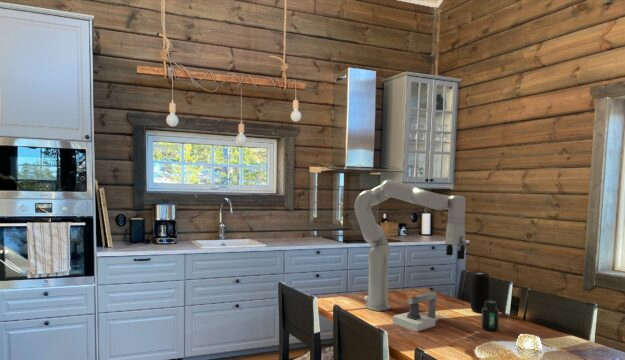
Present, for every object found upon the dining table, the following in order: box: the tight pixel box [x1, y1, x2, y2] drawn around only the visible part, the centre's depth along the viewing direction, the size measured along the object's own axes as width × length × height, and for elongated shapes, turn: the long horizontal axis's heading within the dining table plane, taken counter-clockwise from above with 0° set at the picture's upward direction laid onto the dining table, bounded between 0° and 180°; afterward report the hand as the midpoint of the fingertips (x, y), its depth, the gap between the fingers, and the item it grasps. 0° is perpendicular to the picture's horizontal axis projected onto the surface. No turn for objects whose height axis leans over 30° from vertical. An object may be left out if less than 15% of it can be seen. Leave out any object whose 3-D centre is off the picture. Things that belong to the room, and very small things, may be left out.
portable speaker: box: [469, 270, 491, 314], centre depth 207 cm, size 9×9×20 cm
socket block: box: [392, 298, 439, 332], centre depth 184 cm, size 13×22×10 cm, turn 128°
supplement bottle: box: [481, 299, 500, 332], centre depth 181 cm, size 7×7×12 cm
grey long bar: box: [405, 291, 437, 305], centre depth 185 cm, size 4×18×3 cm, turn 128°
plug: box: [407, 303, 421, 320], centre depth 181 cm, size 6×6×9 cm
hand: (454, 256), depth 197 cm, fingers open, 9 cm apart
